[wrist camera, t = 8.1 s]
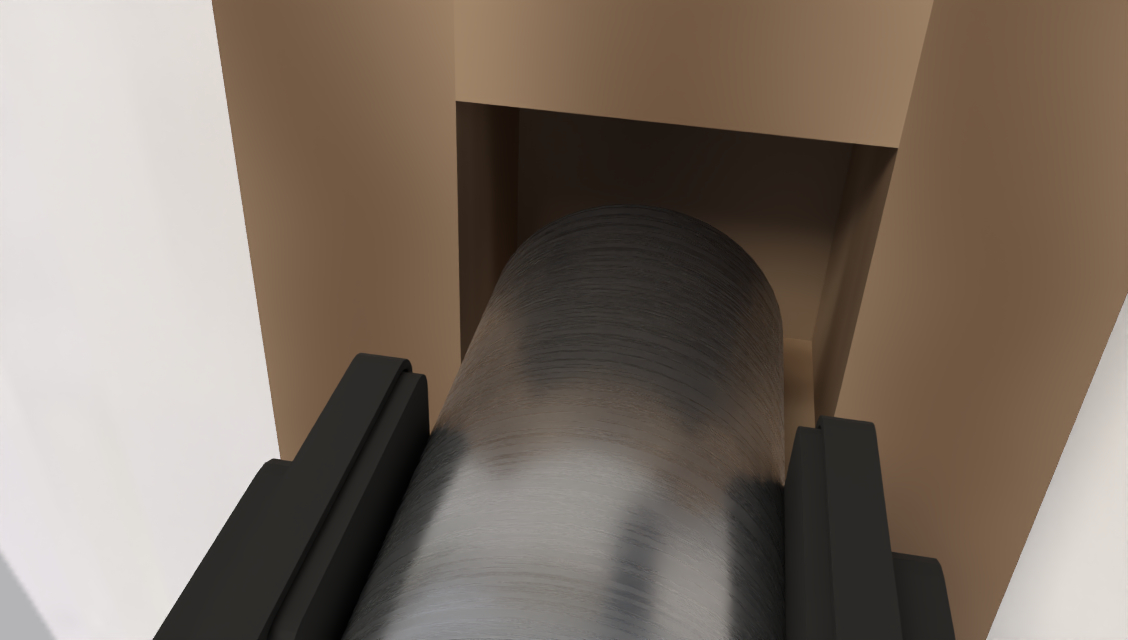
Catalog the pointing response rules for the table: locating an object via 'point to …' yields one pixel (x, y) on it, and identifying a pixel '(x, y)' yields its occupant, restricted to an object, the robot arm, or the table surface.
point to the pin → (601, 450)
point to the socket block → (718, 206)
